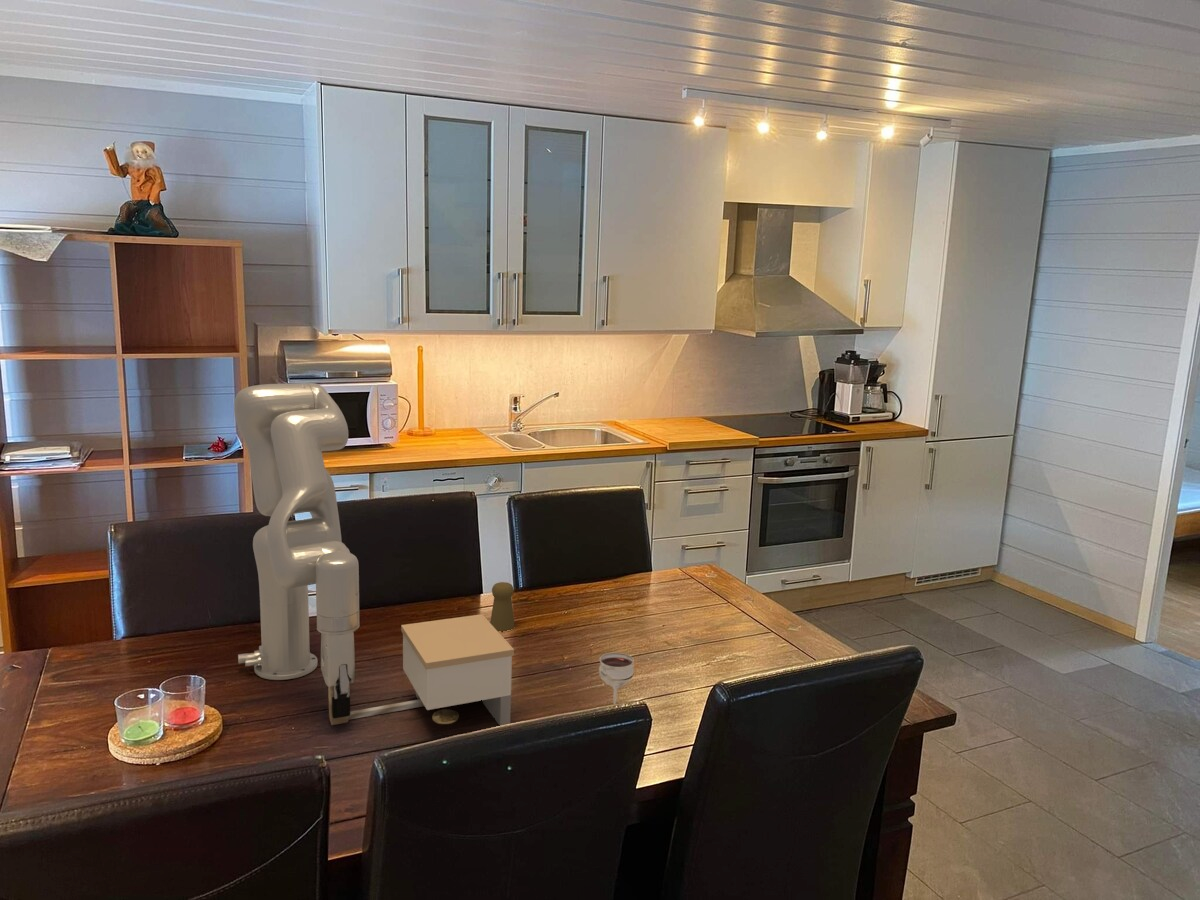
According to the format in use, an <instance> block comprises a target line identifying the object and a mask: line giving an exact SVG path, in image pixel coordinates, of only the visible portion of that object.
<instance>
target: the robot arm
mask: <svg viewBox="0 0 1200 900" xmlns="http://www.w3.org/2000/svg"><path fill="white" fill-rule="evenodd" d="M233 404H234V406H233V407H234V409H233V410H234V417H235V421H236V426H237V428H238V431H239V433H240V436H241V437H242V439H243V441H244V444H245V446H246V449H247V453H248V456H249V457H248V458H249V468H250V474H251V481H252V488H253V489H252V490H253V497H254V501H255V506H256V509H257V510H258V512H259V513H260V514H261V515H263V516H265V517H270V518H269V522H268V524H267V525H265V526H263V527H261V528H259V529H258V530H257V531H256V532H255V534H254V536H253V538H252V539H253V540H252V549H253V553H254V554H253V555H254V559H255V564H256V569H257V574H258V586H259V587H258V589H259V610H260V633H261V634H260V636H261V637H260V638H261V639H260V640H261V645H259V646H258V649H257V650H254V651H253V652H250V653H240V654H239V653H238V654H237V659H238V660H237V662H238V665H240V664H241V665H242V664H244V665H245V667H251V666H252V667H254V669H253V670H254V673H255V674H256V676H258V677H259V678H262V679H265V680H271V681H285V680H291V679H298V678H301V677H303V676H307V675H309V674H310V673H312V672H313V671H315V669H316V668H317V667H318V658H317V656H316V655H315V654H314V653H311V651H310V649H311V648H310V647H311V646H310V615H309V614H310V613H309V612H310V611H309V608H310V607H309V605H310V603H309V587H308V586H312V585H313V586H314V585H315V598H316V599H315V602H316V604H315V605H316V608H315V609H316V630H317V632H319V633H321V635H320V672H321V673H322V677H323V680H324V683H325V685H326V686H327V687H331V686H333V696H334V697H332V717H333V718H340V717H346V716H350V711H351V694H350V684H351V685H352V684H353V683H354V682H355V673H356V672H355V671H356V670H355V663H356V662H355V634H354V632H356V631H357V630H358V629H359V627H360V575H359V573H360V571H359V569H360V568H359V560H358V558H357V556H356V555H355V554H353V553H351V552H350V549H349V548H348V547H347V546H346V544H345V543H344V542H342V533H341V532H342V531H341V525H340V514H339V510H338V502H337V501H338V500H337V494H336V489H335V484H334V483H335V482H334V481H333V478H332V476H331V474H330V473H329V471H328V470H327V469H326V467H325V462H324V456H323V453H322V452H328V451H329V452H331V451H339V450H342V449H344V448H345V447H346V446H347V444H348V441H349V428H348V423H347V421H346V418H345V416H344V414H343V411H342V410H341V409H340V407H339V405H338V404H337V403H336V402H335V400H334V399H333V398H332V397H331V395H330V394H329V393H328V392H327V390H326V389H325V387H324V386H322V385H320V384H318V383H316V382H295V383H291V382H290V383H268V384H267V383H265V384H256V385H251V386H246V387H244V388H243V389H241V390H239V391H238V392H237V394H236V396H235V399H234V403H233ZM303 513H309V514H310V516H311V518H306V519H305V518H304V519H298V520H297V519H296V520H295V519H294V520H289V519H290V518H291V516H292V515H296V514H303ZM337 680H340V681H337ZM337 686H340V688H338V690H337Z"/></svg>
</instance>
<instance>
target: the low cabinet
mask: <svg viewBox="0 0 1200 900" xmlns="http://www.w3.org/2000/svg"><path fill="white" fill-rule="evenodd" d="M400 625H401V626H400V631H401V633H402V670H403V672H404V674H405V676H407V679H408V680H409V682H410V683H411V685H412V687H413V689H414V691H415V696H416V698H418V699H421V701H422V702H423V704H424V706H423V707H424V708H425V710H427V711H430V710H431V711H432V710H435V709H440V708H447V707H451V706H452V707H453V706H457V705H463V704H469V703H474V702H479V701H481V700H482V701H481V702H482V703H483V706H485V707H486V709H487V710H488V711H489V714H491V716H492V717H493V719H494V718H495V719H494V721H496V723H497V724H498V725H499V726H500V725H502V724H506V723H510V724H511V711H512V710H511V708H512V707H511V706H512V672H513V671H512V667H513V666H512V665H513V664H512V663H513V661H512V660H513V659H512V657H513V656H515V648H513V647H512V646H511V644H510V643H509V642H508V641H507V640H506V639H505V638H504V637H503V635H501V632H498V631H497V630H496V629H495V628H494V627H493V626H492V625H491V623H490V621H489V620H488V619H487V618H486V617H485V616H484V614H483V613H481V614H480V613H479V614H473V615H466V616H460V617H452V618H444V619H437V620H431V621H429V620H428V621H421V622H414V623H407V624H400ZM418 699H417V700H418Z"/></svg>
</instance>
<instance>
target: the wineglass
mask: <svg viewBox="0 0 1200 900" xmlns="http://www.w3.org/2000/svg"><path fill="white" fill-rule="evenodd" d="M599 663H600V664H599V667H598V673H599V678H600V679H601V680H602V681H603V682H604V683H605V684H606V685H608V686H610V687H611V688H612V689H613V692H612V693H613V699H612V702H613V704H616V705H617V699H618V689H619V688H620V687H624V686H625V685H626V684H628V683H629V682H630V681H632V678H633V676H634V673H635V669H634V665H633V664H634V663H635V659H634V658H633V656H630V655H629V654H627V653H622V652H608V653H604V654H602V655H600V657H599Z"/></svg>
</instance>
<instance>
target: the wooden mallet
mask: <svg viewBox="0 0 1200 900" xmlns="http://www.w3.org/2000/svg"><path fill="white" fill-rule="evenodd" d="M337 681H340V680H337ZM327 687H328V686H327ZM338 688H340V686H337V690H338ZM327 689H328V690H327V691H328V697H327V698H328V719H329V722H330V725H331V726H334V725H340V724H346V723H349V720H355V719H360V718H365V717H366V718H367V717H372V716H378V715H382V714H389V713H394V712H399V711H405V710H410V709H414V708H415V709H416V708H421V707H425V706H424V704H423V702H422V701H421V699H414V700H413V699H412V700H408V701H402V702H396V703H390V704H385V705H380V706H374V707H368V708H364V709H357V710H350V716H346V717H340V718H333V717H332V697H334V696H333V686H331V687H328V688H327Z"/></svg>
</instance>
